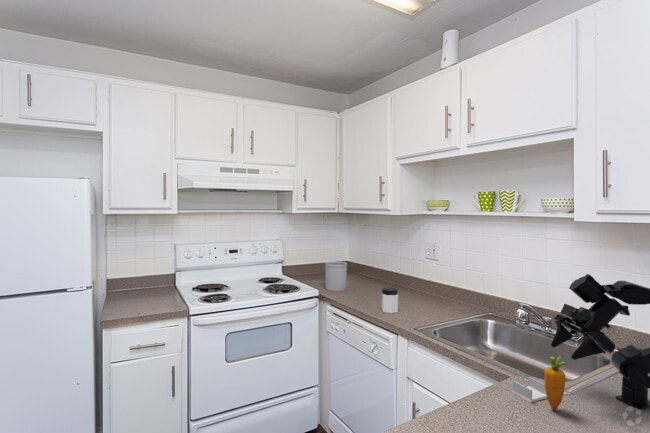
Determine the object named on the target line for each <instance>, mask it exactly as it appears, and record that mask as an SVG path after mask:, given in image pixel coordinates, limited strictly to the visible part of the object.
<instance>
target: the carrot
mask: <svg viewBox="0 0 650 433" xmlns="http://www.w3.org/2000/svg"><path fill="white" fill-rule="evenodd" d="M561 358H562V357H561V356H558V357H557V358H556V359H555V357H554V356H550V357H549V360H550V364H551V366H549V367H547V368H545V369H544V384H545V390H546V395H547V398H546V399H547V402H548V403H549V405H550V407H551V409H552V410H553V411H555V410H557V409H558V408H559V406H560V405H561V403H562V400H563V397H564V394H565V389H566V388H565V387H566V374H565V372H564V371H563V370H562V369H560V367H561V366H563V365H566V362H565V361H561ZM555 360H556V362H555ZM560 361H561V362H560Z"/></svg>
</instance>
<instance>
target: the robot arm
mask: <svg viewBox="0 0 650 433" xmlns="http://www.w3.org/2000/svg"><path fill="white" fill-rule="evenodd" d="M568 289H569V291H571V292H573V293H574V294H575V295H576V296H577V297H578V298H579V299H581V301H583V302H584V303H585V304H589V303H590V304H592V305H591V306H590V307H589V308H586V307H582V306H580V307H579V308H577V307H574V306H572V305H570V304H566V303H564V304H563V306H562V308H561V311H560V312H559V313H560V314H559V313H558V314H556V315H555V316H554V318H553V320H554V323H555V325H556V331H555V335H554V337H553V338H552V341H551V342H550V345H551V347H552V348H556V347H559V346H560V345H562V344H563V343H566V342H567V341H569V340H571V339H572V338H574V337H575V336H574V335H577V334H580V335H582V336H583V338H582V342H581V343H580V344H579V346H578V347H577V348H576V349H575V350H574V352H572V354H571V356H570V358H571V359H572V360H573V361H577V360H579V359H582V358H586V357H590V356H594V355H598V354H604V355H605V354H606V353H608V354H612V355H611V359H610V360H611V364H612V365H613V367H615V369H616V370H618V373H619V374H620V375H621V376H622V378H621V379H622V380H621V394H619V395H616V396H615V399H616V400H619V401H620V402H623V403H625V404H628V405H629V406H632V407H635V408H637V409H640V410H643V409H647V408H649V407H650V400H649V389H650V376H649V374H650V347H648V348H643V349H642V348H641V349H640V348H637V347H636V346H635V345H632V344H629V345H627V346H626V347H622V348H616V344H615V343H614V341H613V340H612V339H611V338H609V337H608V336H607V334H606V333H605V332H603V331H602V330H603V329H607V330H609V329H610V328H611V325H610V323H611V321H613V319H614V318H616V317H617V316H618V315H619V314H620V315H623V316H628V317H629V316H631V313H630V310H629V306H628V305H632V306H633V305H641V306H644V305H650V287H646V286H643V285H640V284H636V283H633V282H630V281H627V280H626V281H625V280H617V281H616V282H613V284H612V283H611V284H600V282H598V281H597V280H596V279H595V278H594V277H593V276H592V275H591V274H589V273H586V274H585V275H584V276H581V277H578V279H575V280H574V281H572V283H571V284H570V285H569V288H568ZM609 296H610V297H609ZM611 297H612V298H611ZM617 299H618V300H619V301H618V300H617ZM620 301H621V302H623V303H624V304H621V302H620ZM625 304H628V305H625ZM615 349H616V350H617V351H615ZM614 351H615V352H614ZM613 352H614V353H613Z"/></svg>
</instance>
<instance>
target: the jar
mask: <svg viewBox="0 0 650 433" xmlns="http://www.w3.org/2000/svg"><path fill="white" fill-rule="evenodd" d="M398 293H399V292H398V288H396V287H393V286H391V287H390V286H388V287H387V286H385V287H382V289H381V311H382V312H383V313H387V314H396V313H398V311H399V294H398Z"/></svg>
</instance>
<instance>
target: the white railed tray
mask: <svg viewBox="0 0 650 433" xmlns="http://www.w3.org/2000/svg"><path fill="white" fill-rule="evenodd" d="M512 393H513V394H514V395H515V396H518V397H520V398H522V399H523V400H525V401H527V402H529V403H535V402H538V401H541V400H545V399H548V398H547V395H546V390H545V382H544V383H543V382H542V381H539V380H537V379H535V378H533V377H531V376H529V377H528V385H527V386H525V385H523V384H521V383H520V382H518V381H516V380H512Z"/></svg>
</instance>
